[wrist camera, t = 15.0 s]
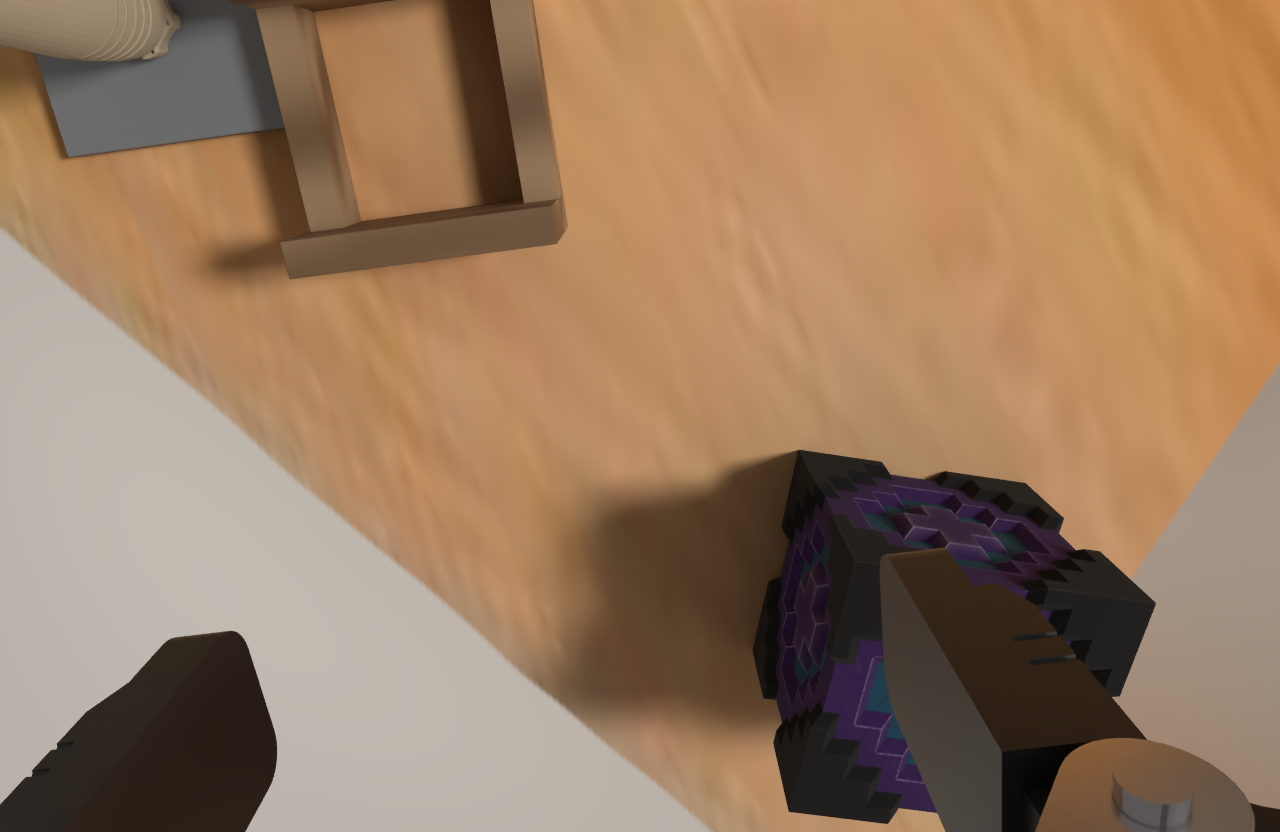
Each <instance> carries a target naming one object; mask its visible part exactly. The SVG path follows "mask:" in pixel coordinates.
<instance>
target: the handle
mask: <svg viewBox="0 0 1280 832" xmlns="http://www.w3.org/2000/svg"><path fill="white" fill-rule="evenodd" d="M180 27H181V21H180V17H179V16H178V15H177V14H176V13H175V12H174V11H173V10H172V8H171V6H170V4H169V2H168V0H0V45H1V46H6V47H10V48H15V49H19V50H24V51H29V52H33V53H38V54H42V55H47V56H52V57H57V58H63V59H72V60H82V61H124V60H131V59H136V58H140V57H141V58H142V59H155V58H158V57H162V56H164V55H165V54H166V53H167V52H168V43H169V40H170V38H171V37H172V35H173V34H174V32H175V31H176V30H178V29H180Z"/></svg>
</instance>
